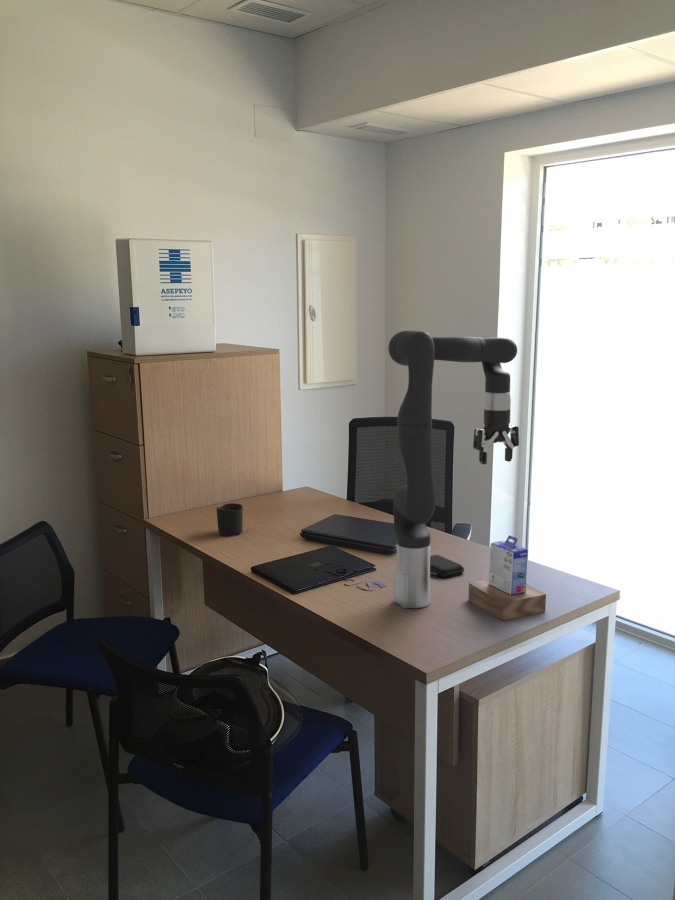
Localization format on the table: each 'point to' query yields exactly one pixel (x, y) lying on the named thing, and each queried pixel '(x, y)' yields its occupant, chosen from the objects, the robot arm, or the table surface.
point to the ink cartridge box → (508, 566)
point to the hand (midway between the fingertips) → (495, 462)
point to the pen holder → (230, 519)
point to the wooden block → (506, 600)
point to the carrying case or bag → (444, 567)
